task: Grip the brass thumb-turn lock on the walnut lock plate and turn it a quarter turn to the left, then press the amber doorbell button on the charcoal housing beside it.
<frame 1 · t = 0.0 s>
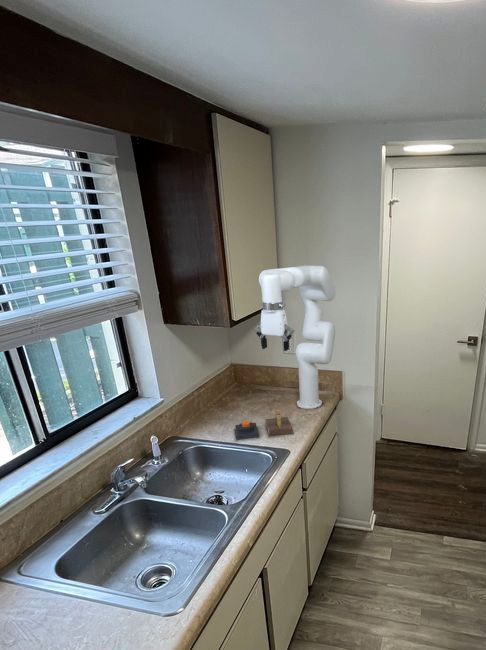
hand: (275, 349, 176), 37 cm above the worktop, tool pointing down, fingers open, 9 cm apart
doorbell: (246, 433, 189), on the worktop
lock knob: (278, 417, 190), point 6 cm above the worktop, hinge at 0.0°
bell button: (245, 424, 187), point 4 cm above the worktop, slide at 0.1 cm
lock plate: (278, 429, 193), on the worktop
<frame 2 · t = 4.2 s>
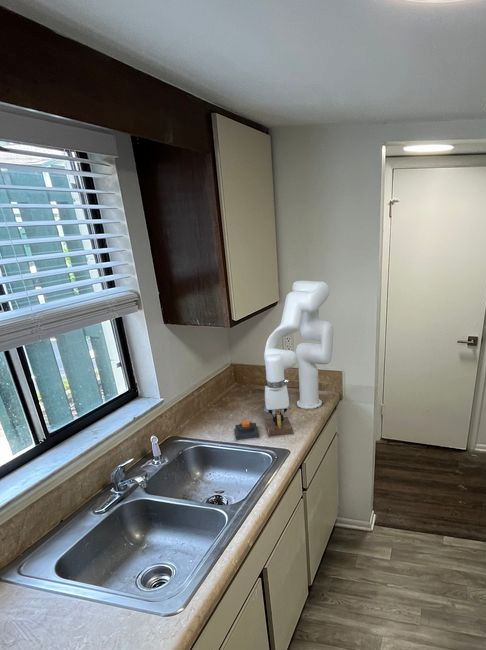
hand: (278, 422, 191), 3 cm above the worktop, tool pointing down, fingers closed on lock knob
lock knob: (278, 417, 190), point 6 cm above the worktop, hinge at 0.2°, touching gripper
everything else where it was.
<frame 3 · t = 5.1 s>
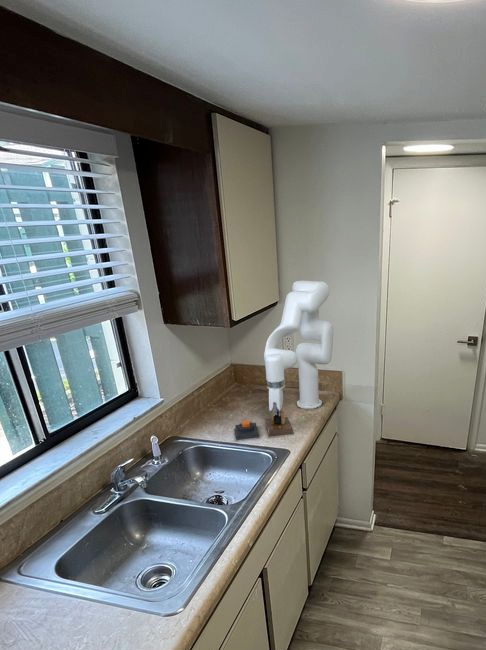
hand: (278, 422, 191), 3 cm above the worktop, tool pointing down, fingers closed, pressing on lock knob
lock knob: (278, 417, 190), point 6 cm above the worktop, hinge at 72.3°, touching gripper
everything else where it was.
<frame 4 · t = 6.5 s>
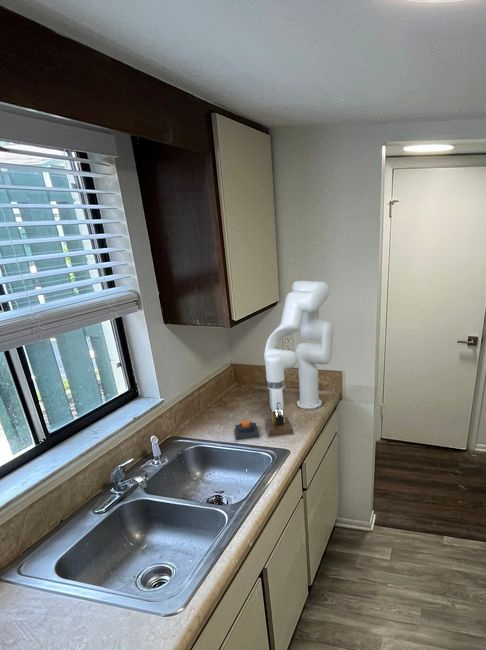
hand: (278, 420, 191), 4 cm above the worktop, tool pointing down, fingers open, 9 cm apart
lock knob: (278, 417, 190), point 6 cm above the worktop, hinge at 89.8°
everything else where it was.
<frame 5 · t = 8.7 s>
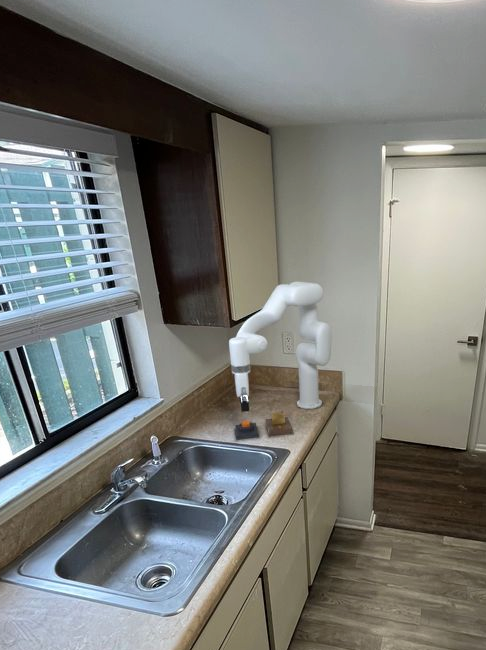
hand: (244, 406, 184), 13 cm above the worktop, tool pointing down, fingers open, 9 cm apart
nothing on the worktop moved.
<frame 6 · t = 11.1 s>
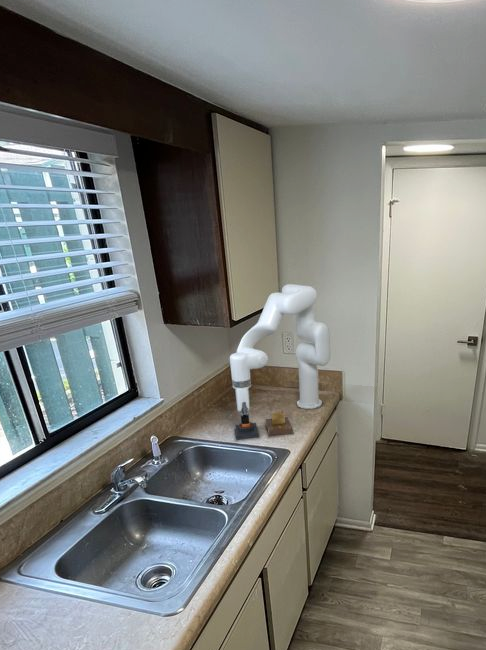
hand: (245, 423, 187), 5 cm above the worktop, tool pointing down, fingers closed
bell button: (246, 424, 188), point 4 cm above the worktop, slide at -0.2 cm, touching gripper
everything else where it was.
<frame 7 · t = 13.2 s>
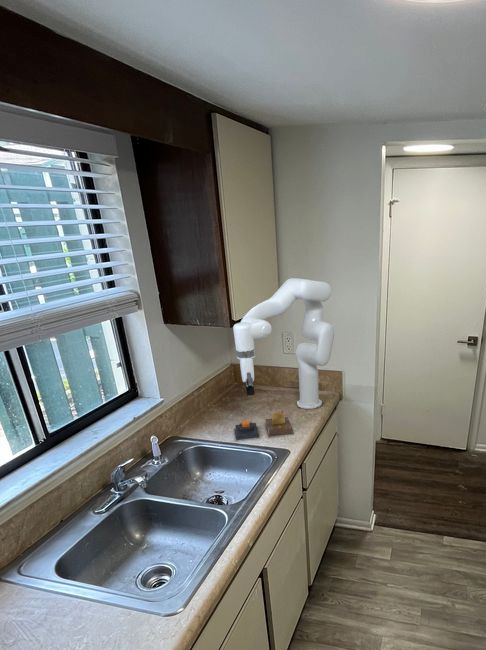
hand: (250, 394, 186), 17 cm above the worktop, tool pointing down, fingers closed
bell button: (245, 424, 187), point 4 cm above the worktop, slide at 0.1 cm
everything else where it was.
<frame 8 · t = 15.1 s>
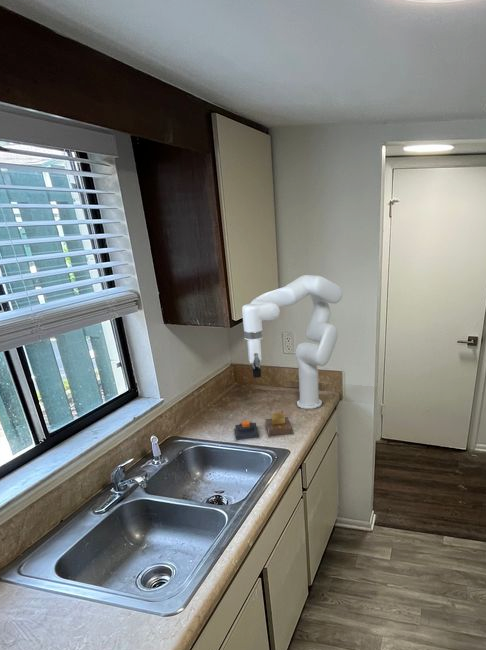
hand: (257, 376, 188), 23 cm above the worktop, tool pointing down, fingers closed
nothing on the worktop moved.
at the end: lock knob at +90° (first picture: +0°); bell button pushed in 1.1 cm at the most during the clip, back to where it started at the end; bell button slide at 0.1 cm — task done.
